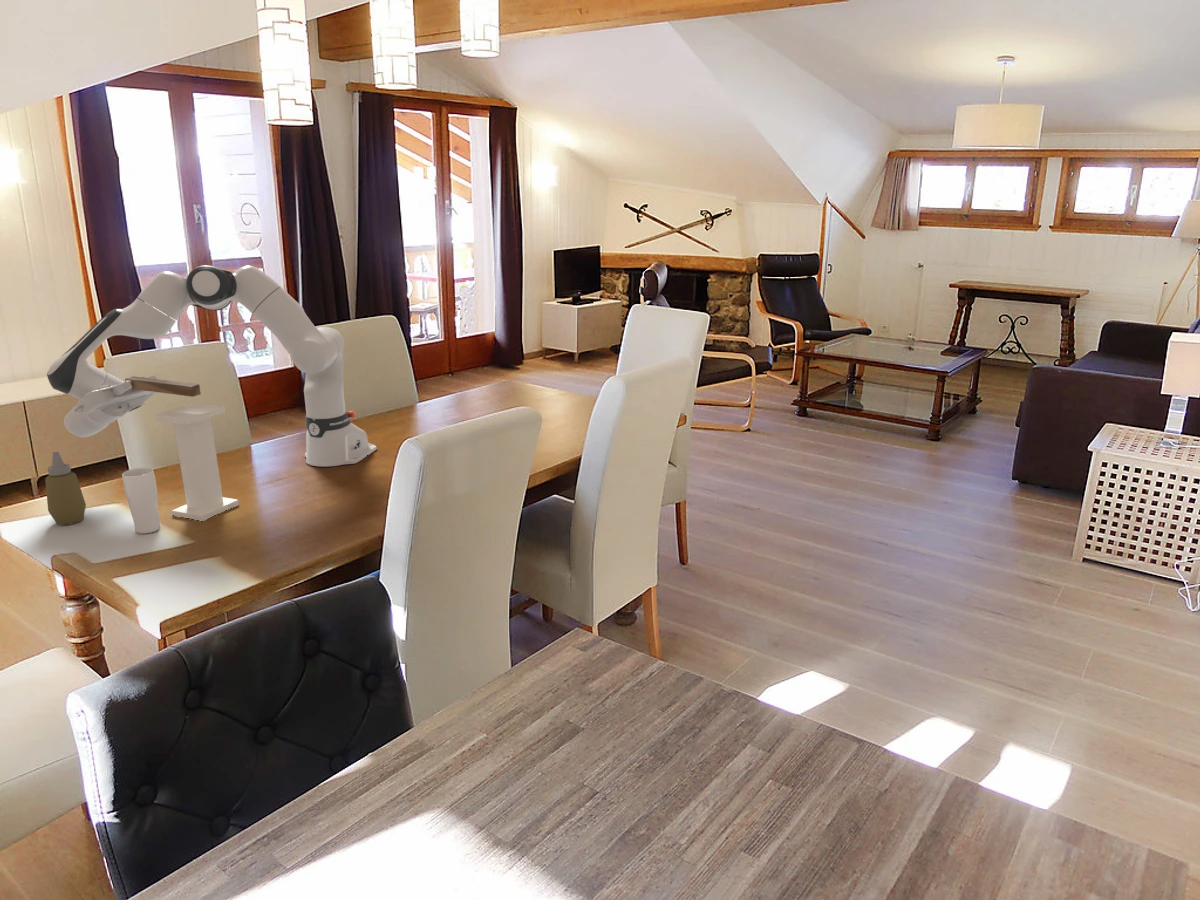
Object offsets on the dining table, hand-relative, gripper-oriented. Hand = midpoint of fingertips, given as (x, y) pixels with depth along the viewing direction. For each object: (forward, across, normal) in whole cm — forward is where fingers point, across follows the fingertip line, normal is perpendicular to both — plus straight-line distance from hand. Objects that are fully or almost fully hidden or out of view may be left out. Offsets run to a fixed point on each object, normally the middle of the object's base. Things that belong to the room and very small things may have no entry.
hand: (137, 381), depth 216 cm
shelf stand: (-2, 0, +36) cm, 36 cm away
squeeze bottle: (-25, -18, +24) cm, 39 cm away
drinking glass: (-5, -15, +35) cm, 38 cm away
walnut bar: (+6, 0, +6) cm, 8 cm away
